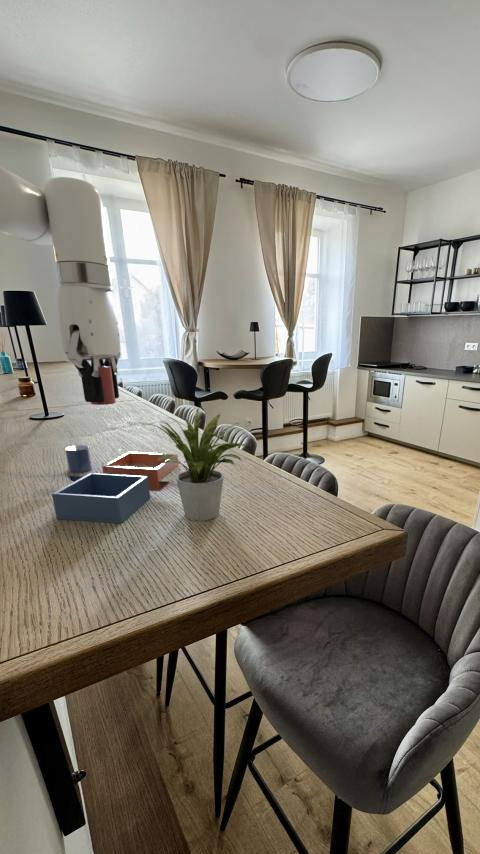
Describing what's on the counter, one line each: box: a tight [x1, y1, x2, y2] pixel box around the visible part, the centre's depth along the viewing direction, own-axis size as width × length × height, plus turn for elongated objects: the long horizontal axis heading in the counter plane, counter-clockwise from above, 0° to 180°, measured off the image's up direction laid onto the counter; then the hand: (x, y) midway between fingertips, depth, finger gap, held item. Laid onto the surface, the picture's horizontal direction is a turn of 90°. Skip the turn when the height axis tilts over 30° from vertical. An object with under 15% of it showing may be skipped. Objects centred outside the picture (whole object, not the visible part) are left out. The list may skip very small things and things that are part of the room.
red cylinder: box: [89, 366, 117, 406], centre depth 69 cm, size 4×4×6 cm
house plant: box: [146, 406, 247, 522], centre depth 60 cm, size 14×14×16 cm
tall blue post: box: [64, 444, 93, 482], centre depth 78 cm, size 4×4×6 cm
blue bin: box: [51, 472, 151, 524], centre depth 65 cm, size 10×10×4 cm
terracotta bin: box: [101, 451, 179, 492], centre depth 78 cm, size 10×10×4 cm
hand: (102, 398), depth 70 cm, fingers closed on red cylinder, 4 cm apart
